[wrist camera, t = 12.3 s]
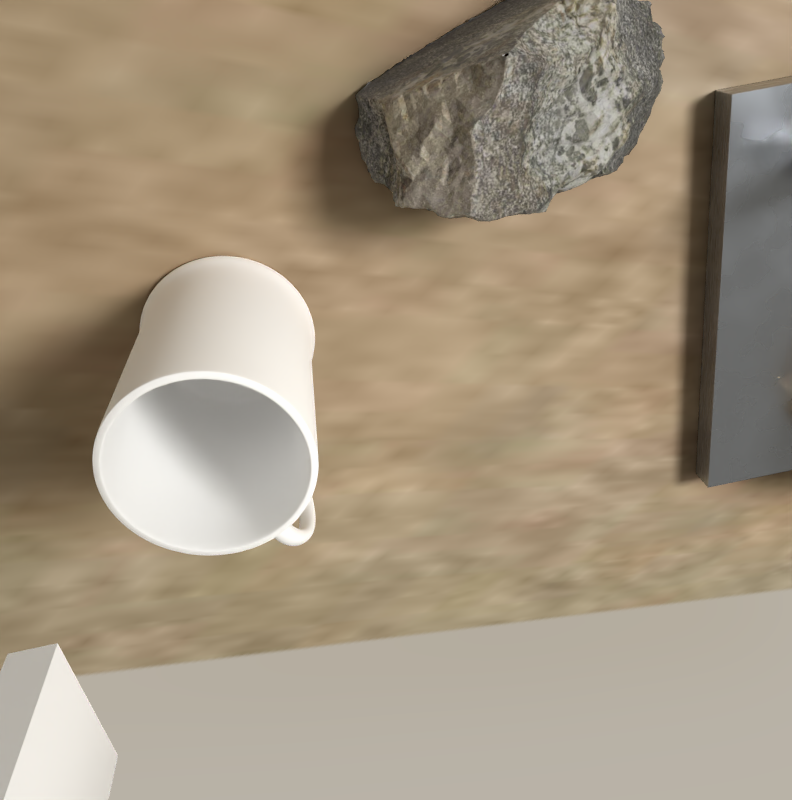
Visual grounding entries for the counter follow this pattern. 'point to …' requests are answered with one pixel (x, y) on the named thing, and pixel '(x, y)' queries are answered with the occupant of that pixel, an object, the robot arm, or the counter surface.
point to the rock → (513, 107)
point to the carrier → (748, 288)
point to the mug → (214, 414)
